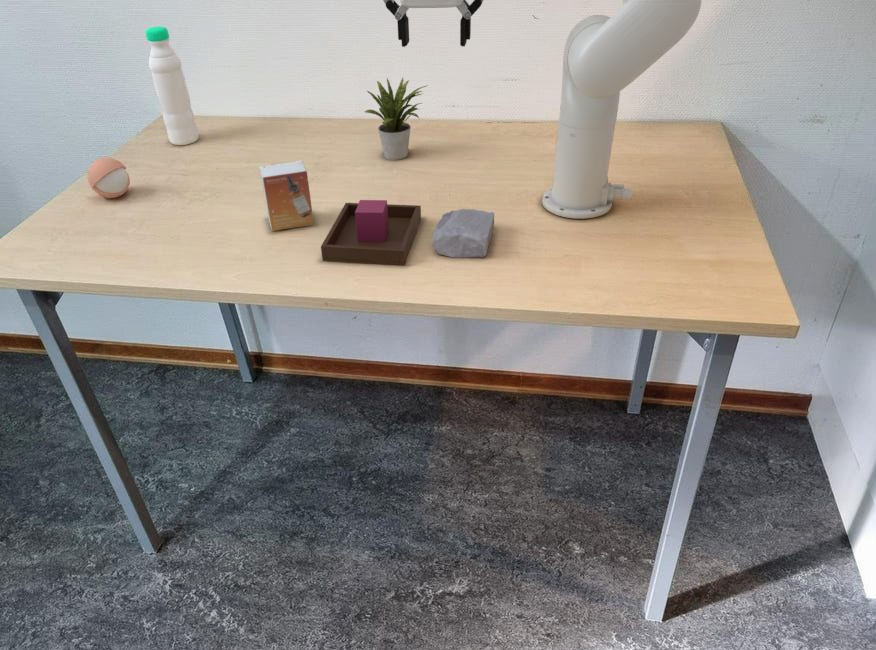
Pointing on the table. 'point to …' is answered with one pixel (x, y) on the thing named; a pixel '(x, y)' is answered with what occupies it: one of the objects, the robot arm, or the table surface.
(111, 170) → the toy ball
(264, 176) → the small box
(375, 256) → the tray
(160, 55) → the water bottle
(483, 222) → the stone block
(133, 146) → the table surface
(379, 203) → the pink block
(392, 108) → the house plant
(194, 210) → the table surface
